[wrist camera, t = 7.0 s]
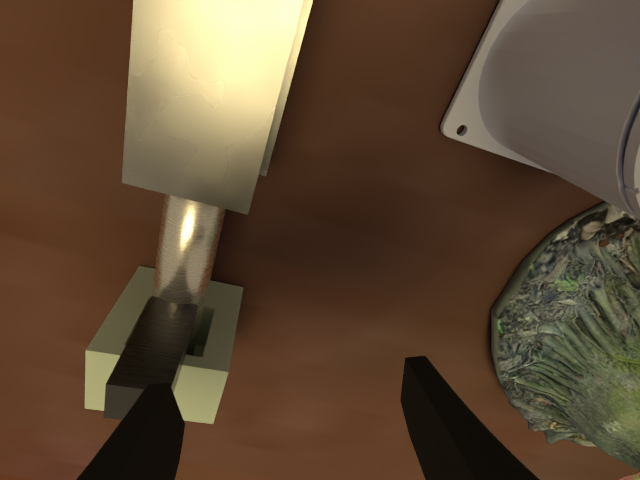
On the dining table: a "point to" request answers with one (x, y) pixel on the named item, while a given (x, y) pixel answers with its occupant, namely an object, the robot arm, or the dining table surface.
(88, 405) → the socket block
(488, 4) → the dining table surface
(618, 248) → the tree stump
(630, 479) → the toy food platter
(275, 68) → the grey boxy piece
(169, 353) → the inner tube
